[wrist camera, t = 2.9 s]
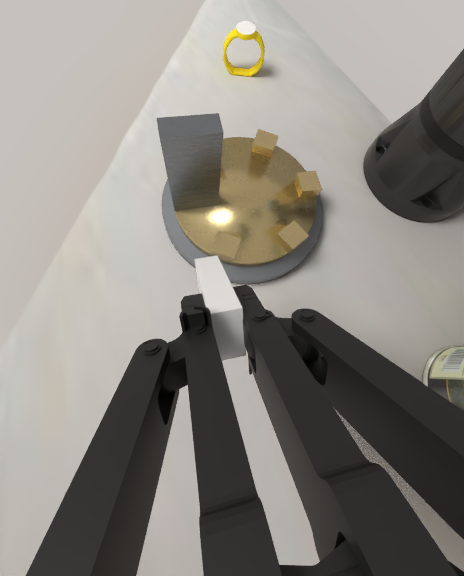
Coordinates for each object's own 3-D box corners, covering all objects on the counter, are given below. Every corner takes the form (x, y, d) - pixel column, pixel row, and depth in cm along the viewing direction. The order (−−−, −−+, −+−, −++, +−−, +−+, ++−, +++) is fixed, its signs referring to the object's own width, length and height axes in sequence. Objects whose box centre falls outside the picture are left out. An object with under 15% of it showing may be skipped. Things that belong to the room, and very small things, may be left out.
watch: (223, 79, 42) (222, 33, 36) (223, 66, 43) (223, 19, 37) (261, 80, 42) (267, 35, 36) (261, 68, 43) (266, 21, 37)
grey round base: (295, 142, 39) (298, 132, 38) (337, 269, 34) (343, 265, 32) (154, 155, 36) (152, 145, 35) (175, 297, 31) (174, 293, 29)
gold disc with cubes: (293, 141, 37) (329, 43, 26) (330, 254, 32) (393, 194, 21) (165, 152, 34) (146, 51, 23) (185, 277, 30) (173, 223, 19)
